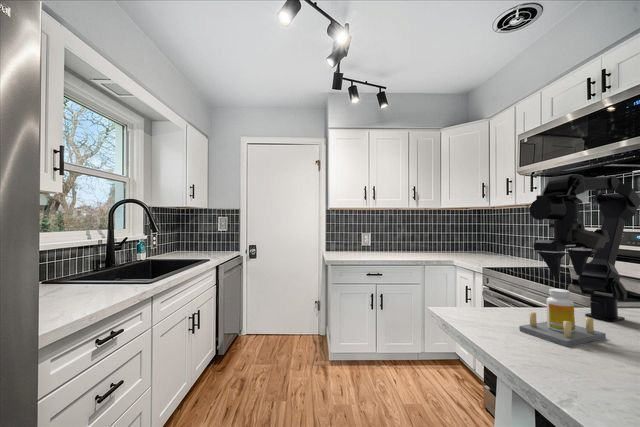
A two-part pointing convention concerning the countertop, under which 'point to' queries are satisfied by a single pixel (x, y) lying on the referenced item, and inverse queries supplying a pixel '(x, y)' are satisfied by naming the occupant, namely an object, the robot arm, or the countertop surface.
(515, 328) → the countertop surface
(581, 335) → the plate
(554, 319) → the supplement bottle
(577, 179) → the robot arm
